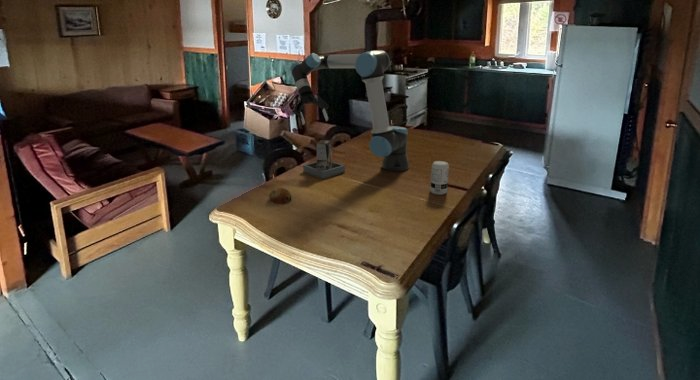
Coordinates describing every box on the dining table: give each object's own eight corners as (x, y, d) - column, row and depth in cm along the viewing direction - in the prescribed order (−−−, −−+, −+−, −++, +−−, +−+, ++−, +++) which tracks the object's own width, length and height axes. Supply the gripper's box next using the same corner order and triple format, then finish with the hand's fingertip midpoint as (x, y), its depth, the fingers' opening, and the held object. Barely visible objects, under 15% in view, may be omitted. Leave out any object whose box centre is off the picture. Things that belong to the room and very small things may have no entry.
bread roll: (283, 202, 240) (277, 187, 240) (297, 198, 234) (291, 182, 233) (269, 209, 233) (263, 193, 232) (283, 205, 226) (277, 188, 225)
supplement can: (428, 189, 248) (430, 160, 242) (444, 188, 248) (446, 160, 243) (432, 195, 240) (434, 165, 235) (448, 194, 241) (451, 165, 236)
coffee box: (328, 173, 267) (327, 144, 261) (316, 172, 268) (316, 143, 262) (332, 168, 275) (331, 139, 269) (320, 167, 276) (320, 139, 270)
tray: (344, 172, 271) (344, 165, 270) (322, 179, 261) (322, 172, 259) (325, 165, 282) (325, 159, 281) (303, 172, 272) (303, 165, 270)
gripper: (323, 89, 286) (334, 121, 280) (281, 95, 277) (292, 128, 271) (326, 82, 280) (338, 114, 274) (284, 88, 270) (295, 121, 264)
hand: (315, 121), depth 272 cm, fingers open, 13 cm apart
